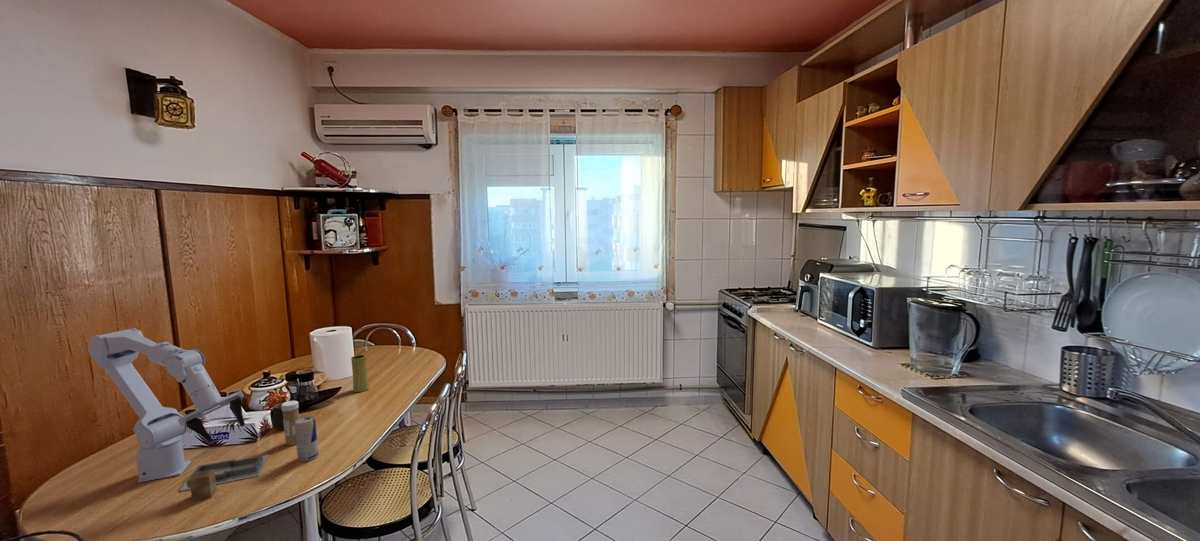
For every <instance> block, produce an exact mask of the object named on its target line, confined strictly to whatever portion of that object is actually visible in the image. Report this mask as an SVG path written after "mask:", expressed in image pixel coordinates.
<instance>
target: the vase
mask: <svg viewBox="0 0 1200 541" xmlns="http://www.w3.org/2000/svg"><path fill="white" fill-rule="evenodd" d="M366 358H367V357H366V355H364V354H356V355H353V356H352V357H351V359H350V360H351V370H352V392H353V393H362V392H366V391H368V390H369V389H370V386H369V378H368V367H367V359H366Z"/></svg>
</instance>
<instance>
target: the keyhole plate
mask: <svg viewBox="0 0 1200 541" xmlns="http://www.w3.org/2000/svg"><path fill="white" fill-rule="evenodd" d="M269 458H270V454H263V455H258V456H253V457H248V458H247V457H246V458H243V459H237V460H236V459H231V460H225V461H219V462H213V463H209V464H208V463H207V464H202V465H198V466H197V467H196V469H195V470H194V471H193V472H192V473H191V475H190V476H189V478H188V479H187V480H186V481H185V483H184V484H182V486H181V488H180V489H179V491H180V492H185V491H189V490H190V491H191V487H190V479H191V477H192V476H193V475H194V474H195V472H199V471H205V470H210V469H214V471H215V479H216V485H220V484H225V483H230V482H235V481H241V480H246V479H251V478H255V477H260V475H261V473H262V471H263V469H264V467H265V466H266V463H267V462H268V460H269Z"/></svg>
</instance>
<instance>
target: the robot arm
mask: <svg viewBox="0 0 1200 541" xmlns="http://www.w3.org/2000/svg"><path fill="white" fill-rule="evenodd" d="M87 350H88V354H89V355H90V356H91V358H92V359H93V360H94V362H95V363H96V364H97V366H98V367H99V368H101V369H104V370H105V371H106V374H108V376H109V377H110V378H111V380H112V381H113V382H114V384H115V386H116V387H117V388H118V390H119V391H120V392H121V394H122V395H123V397H124V398H125V400H126V401H127V402H128V403H129V405H130V406H131V407H132V408H131V409H133V410H134V412H135V413H136V415H137V416H138V418H139V419H138V420H137V421H136V423H135V424H134V425H133V426H134V427H133V429H132V431H133V432H134V434H135V436H136V441H137V443H138V444H139V445H140V446H139V448H138V450H137V452H136V458H135V460H136V468H137V474H138V480H137V482H138V483H143V482H148V481H154V480H160V479H164V478H171V477H174V476H175V477H177V476H180V475H182V474H183V472H184V471H185V470H186V469H187V468H188V466H189V465H190V464H191V462H192V460H185V454H184V447H183V439H184V438H185V434H186V433H187V432H188V430H192V431H193V432H195V433H197V434H198V435H199V436H201V437H202V439H204V440H205V441H206V442H207V443H208V444H211V443H212V442H213V439H212V437H211V436H210V434H209V433H208V431H207V429H206V427H205V426H204V424H203V422H202V420H201V418H203V417H205V416H206V415H208V414H210V413H213V412H215V411H217V410H219V409H221V408H223V407H225V406H227V405H228V406H229V409H230V411H231V412H232V413H233V415H234V416H235V418H236V421H237V422H238V424H239V426H240V428H242V427H244V426H245V425H246V422H245V420H244V416H243V410H242V409H243V403H242V402H243V398H244V397H245V395H244V393H243V392H242V390H239V391H236V392H234V393H232V394H229V395H227V396H225V397H222V396H221V394H220V393H219V391H218V389H217V387H216V385H215V384H214V382H213V380H212V378H211V377H210V375H209V373H208V372H207V371H208V370H206V368H205V367H204V366H205V364H206V358H205V355H204V353H202V351H201V350H199V349H197V348H191V349H187V350H186V349H183V348H182V347H178V346H176V345H173V344H171V342H169V341H164V342H159V343H157V342H155V341H153V340H151V339H149V338H147V337H145V336H144V334H143V332H142V331H141V330H140V329H139V330H138V329H137V328H135V327H129V328H127V329H124V330H119V331H113V332H109V333H104V334H96V335H92V336H91V337H90V338H89V340H88V342H87ZM139 354H142V355H146V356H147V358H148V360H149V361H150V362H152V363H155V364H156V365H158V366H161V367H164V368H166V369H167V370H166V371H167V373H169V375H171V376H172V377H173V378H174V379H176V381H177V382H178V383H180V384H182V386H183V388H184V390H185V391H186V393H187V395H188V396H189V398H190V400H191V402H192V404H193V405H194V407H195V408H196V410H194V411H192V412H190V413H188V414H186V415H182V414H181V413H180V412H179V411H178V410H177V409H176V408H174V407H165V406H163V405H162V404H161V403H160V401H159V400H158V398H157V397H156V396H155V394H154V393H153V391H152V390H151V389H150V387H149V385H147V383H146V382H145V380H144V379H143V377H142V376H141V375H140V373H139V372H138V371H137V370H136V368H135V366H134V365H133V362H134V361H135V360H136V359H137V358H138V357H139Z"/></svg>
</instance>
